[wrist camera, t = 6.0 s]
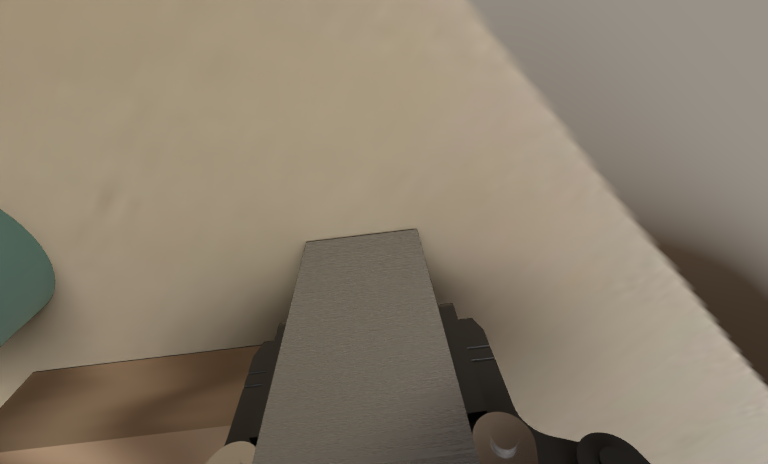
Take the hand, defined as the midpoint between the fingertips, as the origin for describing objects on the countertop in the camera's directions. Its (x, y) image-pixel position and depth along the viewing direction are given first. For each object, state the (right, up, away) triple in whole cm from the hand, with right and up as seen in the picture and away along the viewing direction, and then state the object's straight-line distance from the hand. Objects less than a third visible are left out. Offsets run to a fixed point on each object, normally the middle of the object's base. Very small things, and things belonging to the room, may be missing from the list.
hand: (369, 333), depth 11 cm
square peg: (0, +1, +2) cm, 3 cm away
